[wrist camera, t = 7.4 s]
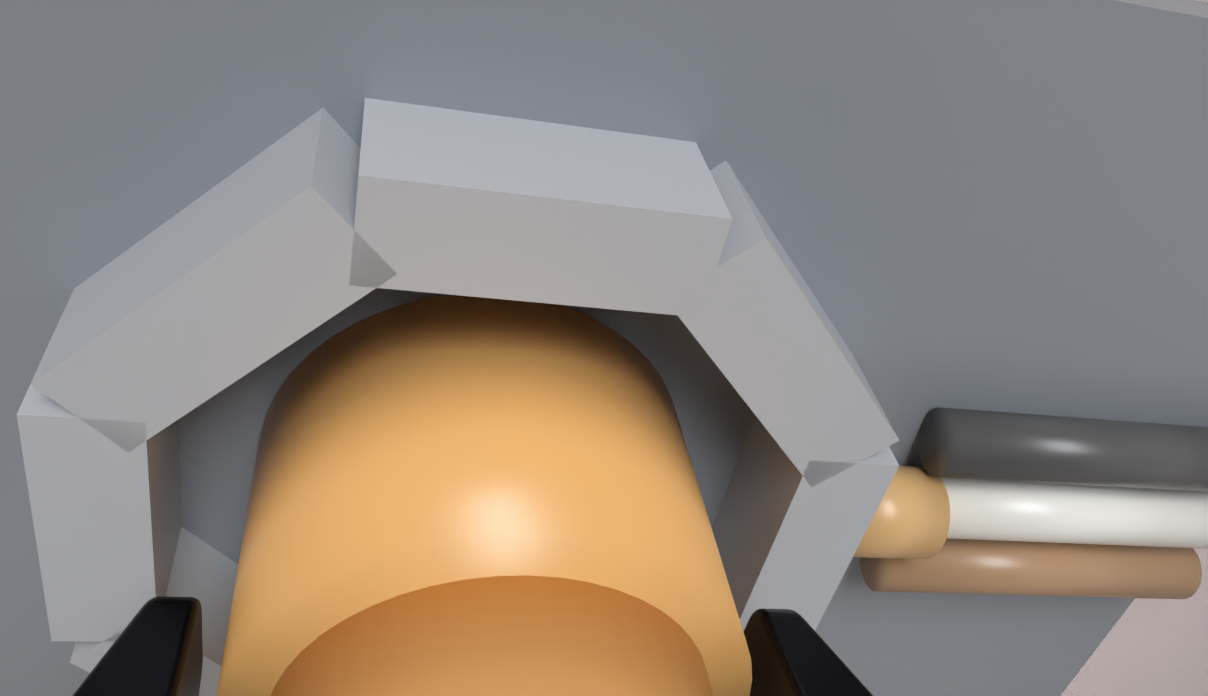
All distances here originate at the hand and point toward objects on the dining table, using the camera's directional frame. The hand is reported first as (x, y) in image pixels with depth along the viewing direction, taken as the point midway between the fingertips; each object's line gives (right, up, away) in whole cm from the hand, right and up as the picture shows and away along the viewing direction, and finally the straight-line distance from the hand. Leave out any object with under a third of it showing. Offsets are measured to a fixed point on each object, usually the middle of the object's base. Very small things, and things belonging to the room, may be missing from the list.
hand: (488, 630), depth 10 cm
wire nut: (0, +1, +2) cm, 2 cm away
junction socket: (+1, +2, +3) cm, 4 cm away
